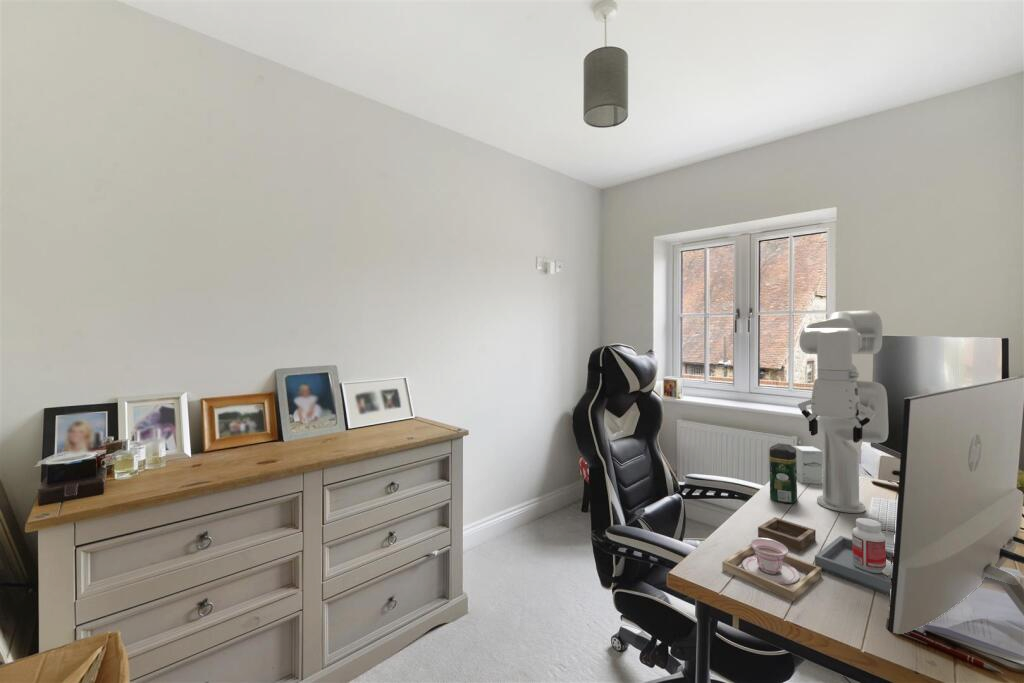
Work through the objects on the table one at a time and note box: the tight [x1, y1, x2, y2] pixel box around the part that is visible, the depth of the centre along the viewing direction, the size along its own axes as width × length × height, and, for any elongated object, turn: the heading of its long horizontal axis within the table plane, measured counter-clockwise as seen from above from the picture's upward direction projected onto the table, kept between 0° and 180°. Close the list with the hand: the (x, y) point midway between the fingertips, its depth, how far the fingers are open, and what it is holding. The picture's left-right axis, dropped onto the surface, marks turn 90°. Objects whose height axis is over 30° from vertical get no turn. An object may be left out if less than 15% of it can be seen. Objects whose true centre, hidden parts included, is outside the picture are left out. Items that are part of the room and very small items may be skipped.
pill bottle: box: [851, 517, 887, 573], centre depth 104 cm, size 6×6×11 cm
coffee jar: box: [768, 443, 798, 504], centre depth 148 cm, size 10×8×19 cm
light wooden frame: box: [721, 543, 823, 602], centre depth 104 cm, size 16×16×2 cm
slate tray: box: [814, 535, 894, 597], centre depth 104 cm, size 17×17×3 cm
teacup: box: [741, 537, 800, 585], centre depth 105 cm, size 12×12×6 cm
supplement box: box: [792, 445, 823, 485], centre depth 165 cm, size 7×7×13 cm
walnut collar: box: [757, 517, 817, 553], centre depth 120 cm, size 10×10×3 cm
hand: (834, 437), depth 118 cm, fingers open, 9 cm apart
